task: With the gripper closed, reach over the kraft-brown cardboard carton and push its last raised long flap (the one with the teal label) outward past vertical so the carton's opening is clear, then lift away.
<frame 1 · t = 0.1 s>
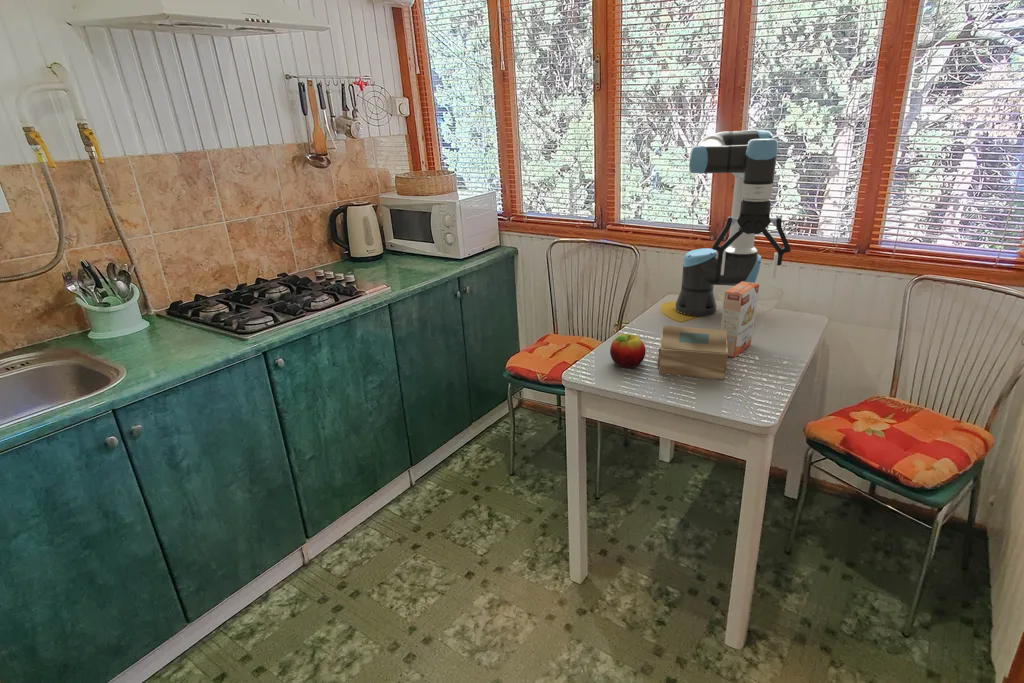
hand: (747, 275, 162), 28 cm above the table, fingers open, 13 cm apart
fruit: (627, 364, 176), on the table
flap: (693, 339, 163), point 11 cm above the table, hinge at 50.0°
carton: (691, 367, 172), on the table
cracker box: (735, 349, 183), on the table
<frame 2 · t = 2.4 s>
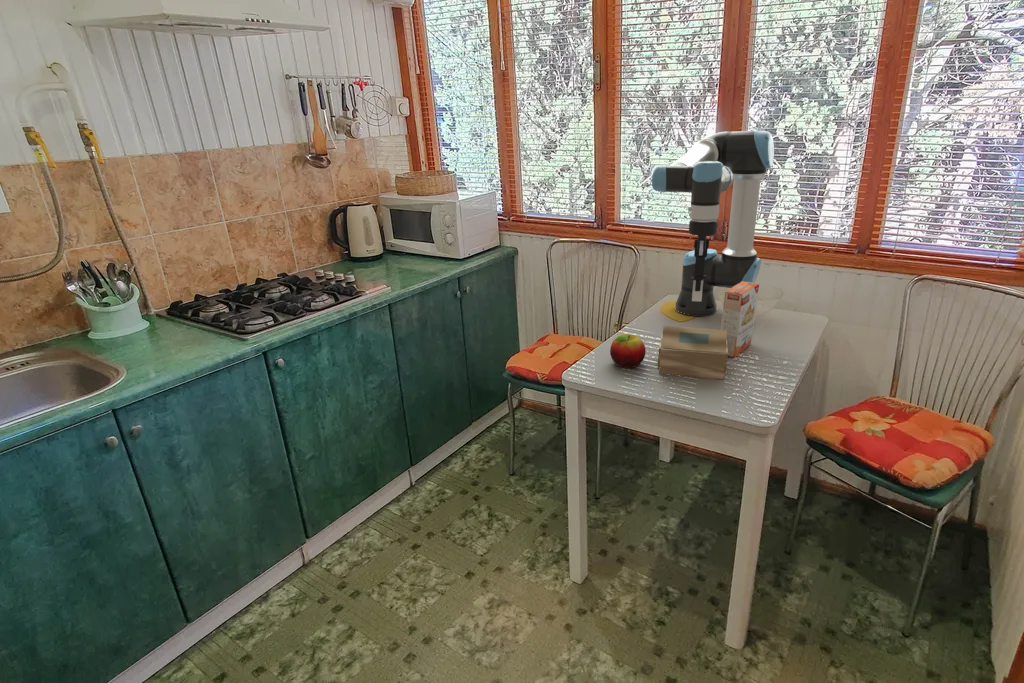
hand: (696, 300, 166), 20 cm above the table, fingers closed
nothing on the table moved.
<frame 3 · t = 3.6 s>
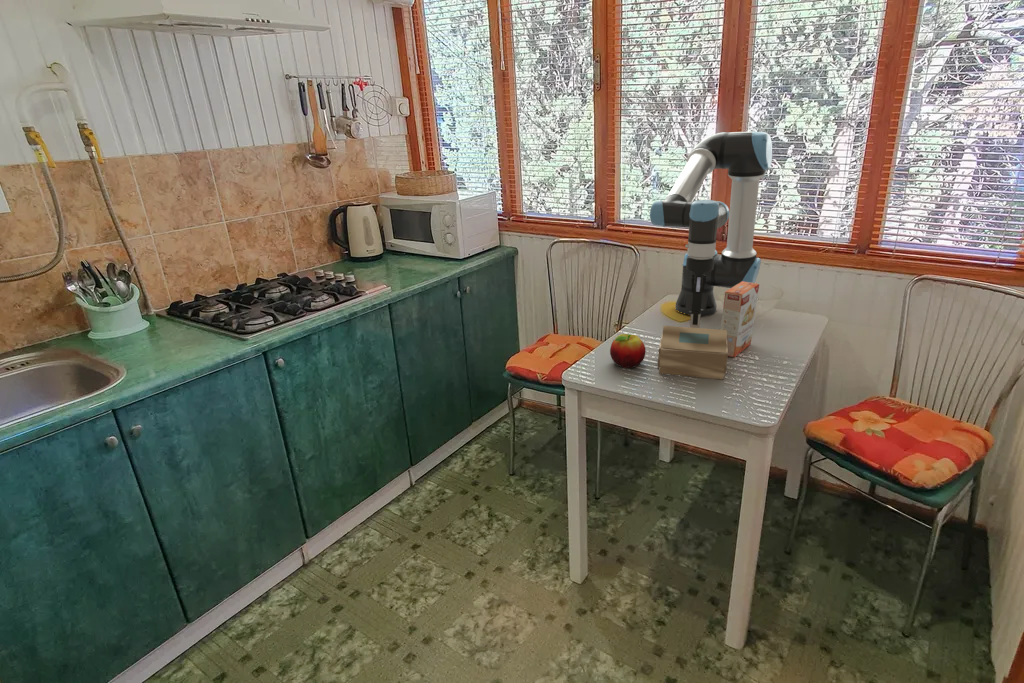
hand: (694, 333, 170), 10 cm above the table, fingers closed
nothing on the table moved.
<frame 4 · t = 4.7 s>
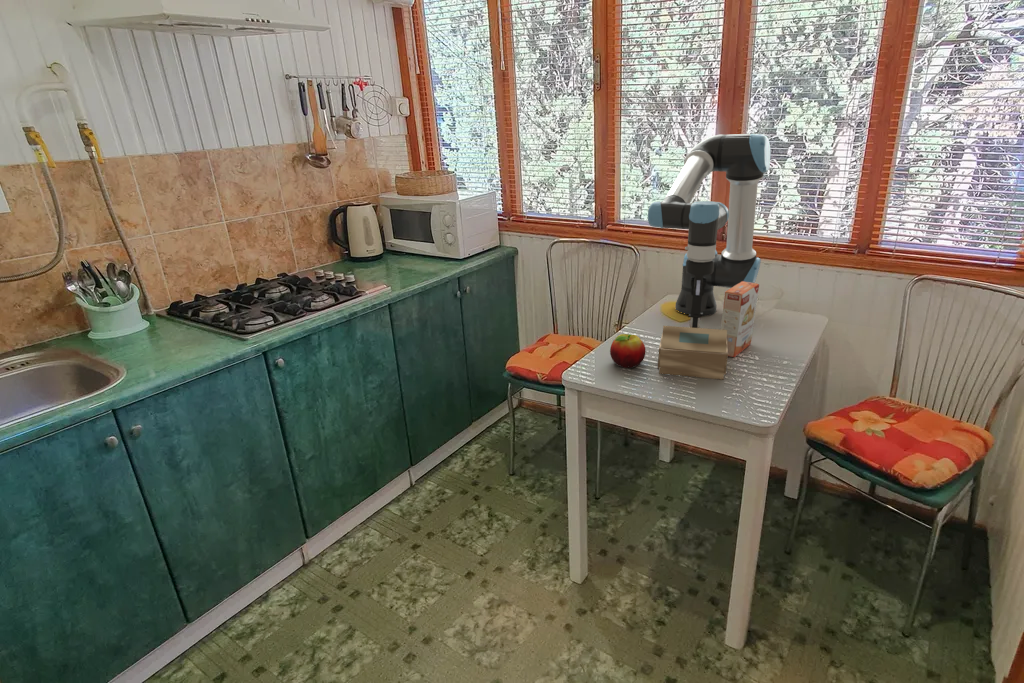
hand: (693, 337, 167), 10 cm above the table, fingers closed
flap: (693, 339, 163), point 11 cm above the table, hinge at 50.3°, touching gripper
everything else where it was.
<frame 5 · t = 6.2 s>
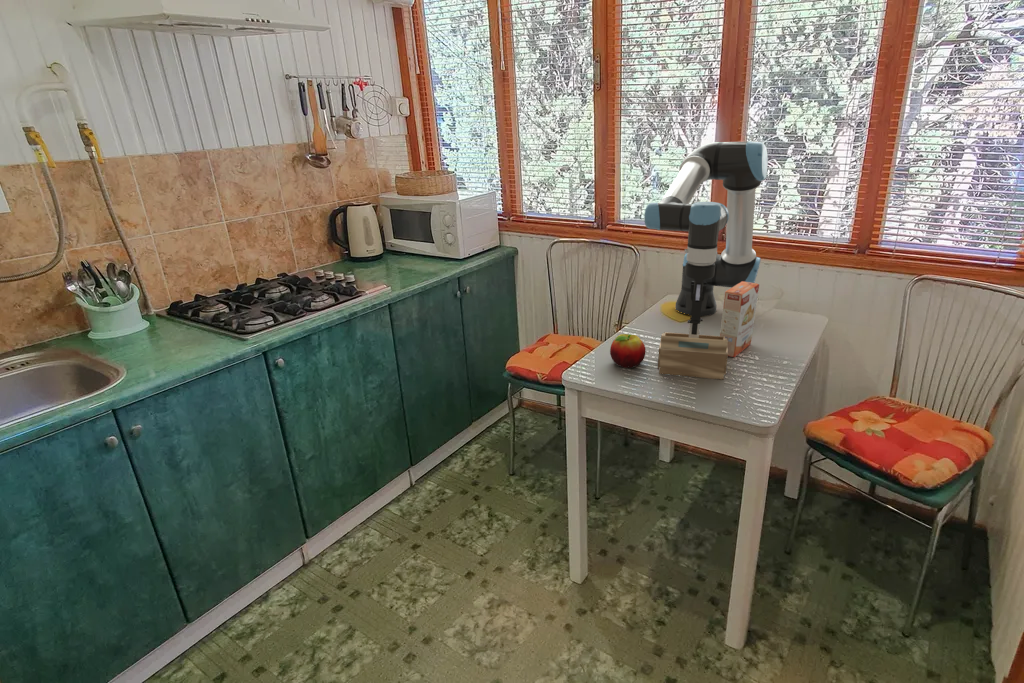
hand: (693, 343, 160), 11 cm above the table, fingers closed
flap: (693, 344, 159), point 11 cm above the table, hinge at 126.8°, touching gripper
everything else where it was.
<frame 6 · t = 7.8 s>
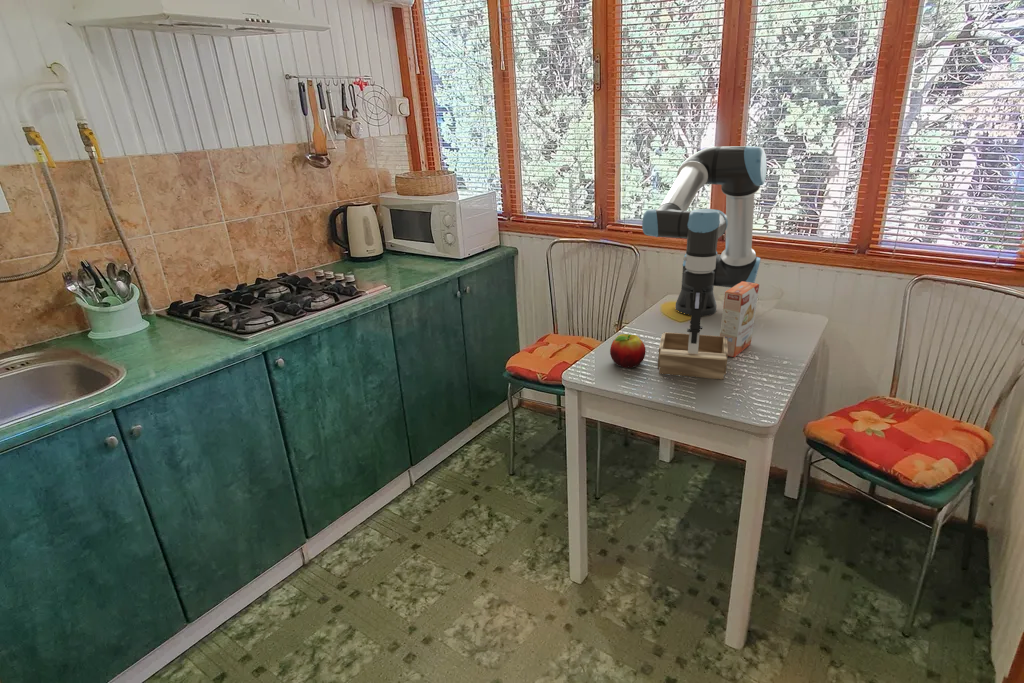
hand: (692, 352, 157), 10 cm above the table, fingers closed
flap: (692, 354, 159), point 9 cm above the table, hinge at 168.6°
everything else where it was.
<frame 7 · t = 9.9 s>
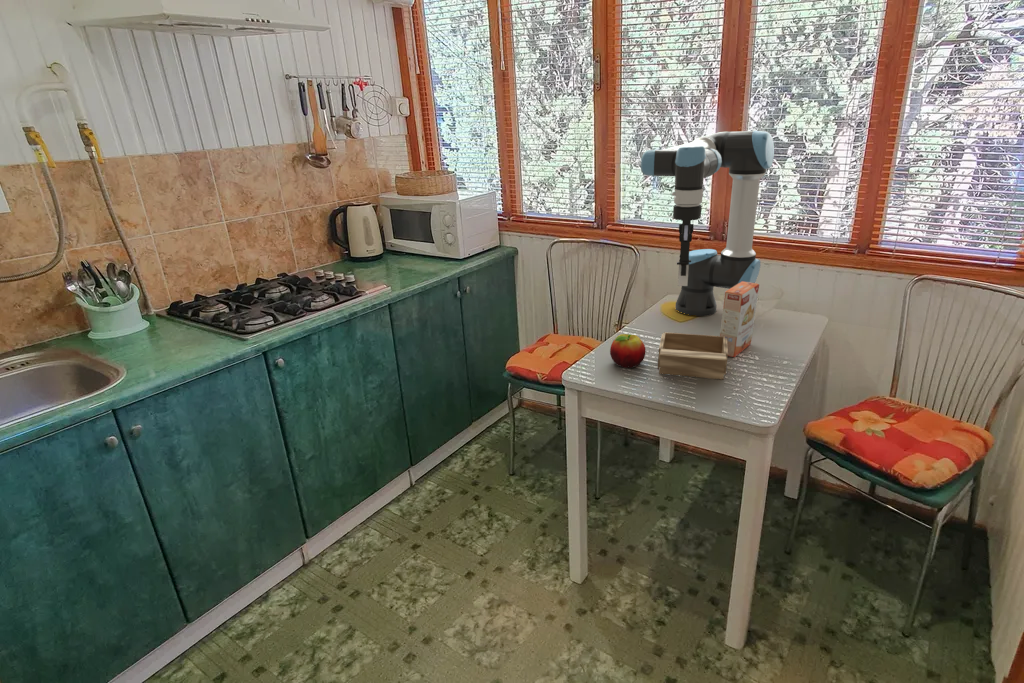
hand: (682, 285, 167), 24 cm above the table, fingers closed
nothing on the table moved.
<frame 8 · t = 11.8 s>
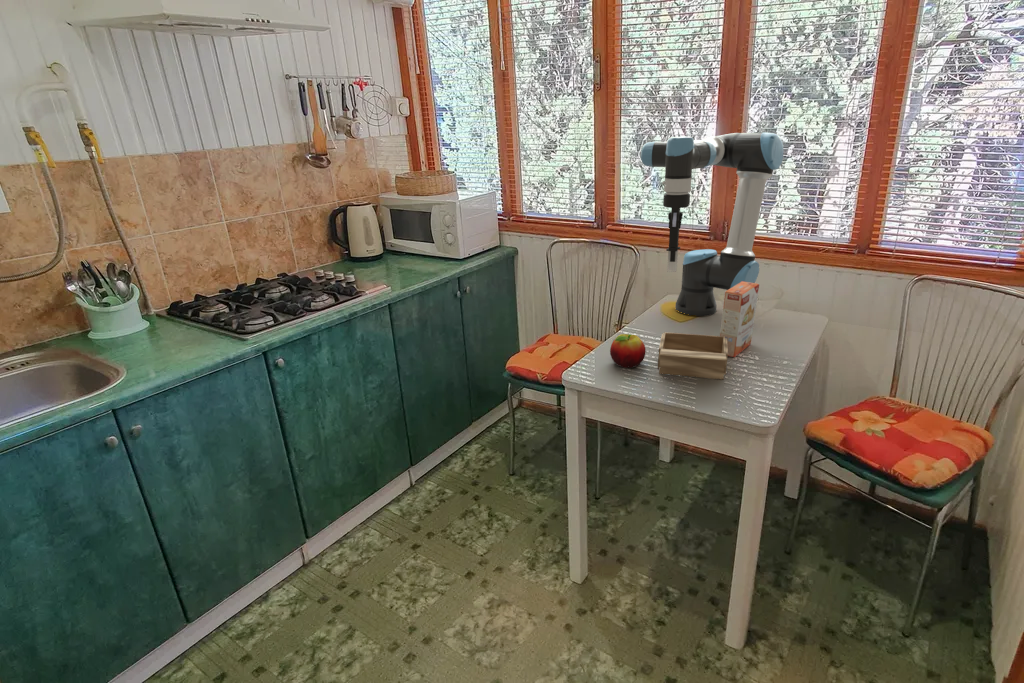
hand: (671, 271, 175), 26 cm above the table, fingers closed
nothing on the table moved.
at the end: flap at +169° (first picture: +50°) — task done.
